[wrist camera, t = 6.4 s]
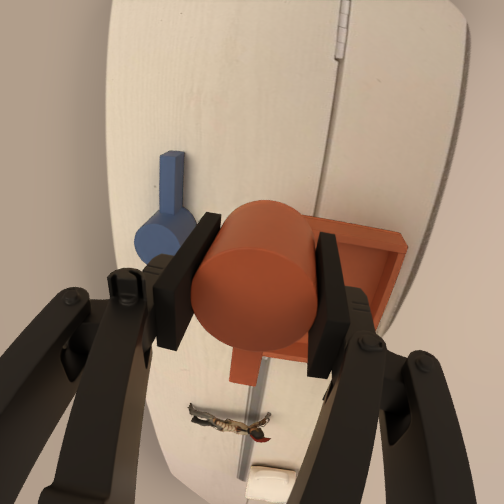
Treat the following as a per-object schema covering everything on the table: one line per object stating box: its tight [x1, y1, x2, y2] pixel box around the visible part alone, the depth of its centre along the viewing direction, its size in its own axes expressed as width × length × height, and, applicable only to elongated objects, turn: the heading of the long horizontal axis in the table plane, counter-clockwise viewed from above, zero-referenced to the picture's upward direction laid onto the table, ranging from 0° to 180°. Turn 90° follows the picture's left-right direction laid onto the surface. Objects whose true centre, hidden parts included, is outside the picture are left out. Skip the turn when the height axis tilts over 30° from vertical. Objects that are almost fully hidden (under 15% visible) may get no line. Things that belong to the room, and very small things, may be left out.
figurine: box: [188, 403, 271, 443], centre depth 46 cm, size 6×4×15 cm
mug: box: [245, 466, 296, 503], centre depth 54 cm, size 12×9×8 cm
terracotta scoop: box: [191, 200, 318, 386], centre depth 15 cm, size 10×5×5 cm, turn 173°
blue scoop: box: [134, 151, 196, 264], centre depth 30 cm, size 10×5×5 cm, turn 174°
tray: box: [262, 215, 408, 363], centre depth 33 cm, size 17×12×3 cm
